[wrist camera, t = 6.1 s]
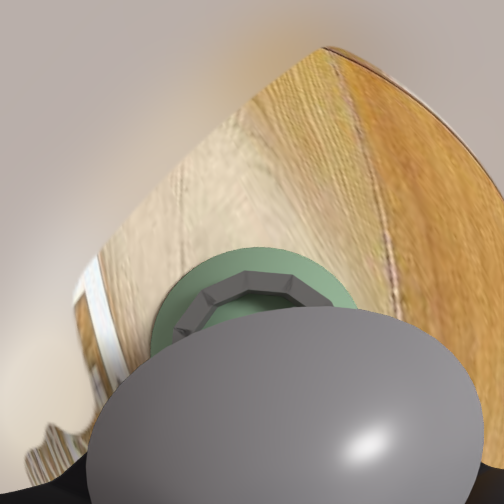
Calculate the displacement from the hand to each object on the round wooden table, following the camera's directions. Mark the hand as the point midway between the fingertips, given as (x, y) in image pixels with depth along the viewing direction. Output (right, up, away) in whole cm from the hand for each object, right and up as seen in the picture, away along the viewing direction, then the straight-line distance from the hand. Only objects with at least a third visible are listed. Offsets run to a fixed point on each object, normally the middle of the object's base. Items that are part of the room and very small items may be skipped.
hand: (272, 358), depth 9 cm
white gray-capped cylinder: (0, -3, +6) cm, 7 cm away
